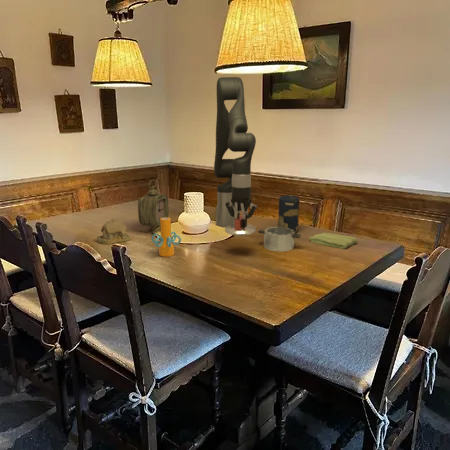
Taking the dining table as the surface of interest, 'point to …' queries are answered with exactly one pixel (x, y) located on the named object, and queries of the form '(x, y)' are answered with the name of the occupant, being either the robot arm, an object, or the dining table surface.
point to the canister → (289, 212)
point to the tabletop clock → (152, 208)
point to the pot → (279, 238)
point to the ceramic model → (113, 232)
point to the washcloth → (333, 240)
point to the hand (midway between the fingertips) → (240, 227)
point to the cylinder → (166, 238)
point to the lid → (240, 228)
